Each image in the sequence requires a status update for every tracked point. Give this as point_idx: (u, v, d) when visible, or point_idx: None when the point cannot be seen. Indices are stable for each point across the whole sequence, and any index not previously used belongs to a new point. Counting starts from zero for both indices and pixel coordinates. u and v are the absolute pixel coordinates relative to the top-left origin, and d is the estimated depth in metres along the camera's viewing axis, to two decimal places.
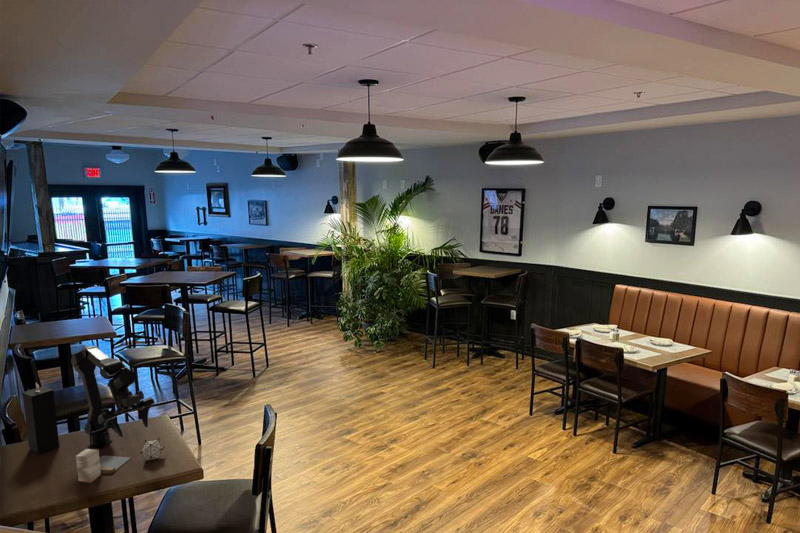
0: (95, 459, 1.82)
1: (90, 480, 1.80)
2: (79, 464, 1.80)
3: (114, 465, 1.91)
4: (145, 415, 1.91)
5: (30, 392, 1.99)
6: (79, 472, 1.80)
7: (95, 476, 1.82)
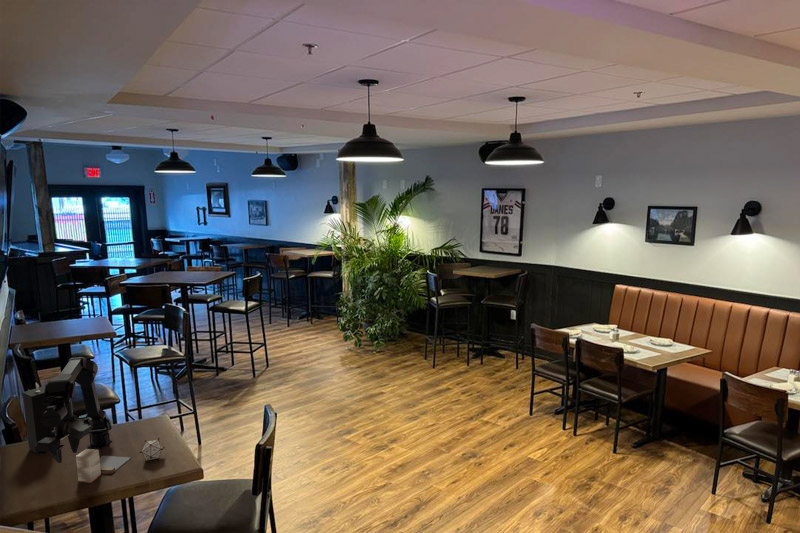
0: (95, 459, 1.82)
1: (90, 480, 1.80)
2: (79, 464, 1.80)
3: (114, 465, 1.91)
4: (77, 440, 1.75)
5: (30, 392, 1.99)
6: (79, 472, 1.80)
7: (95, 476, 1.82)
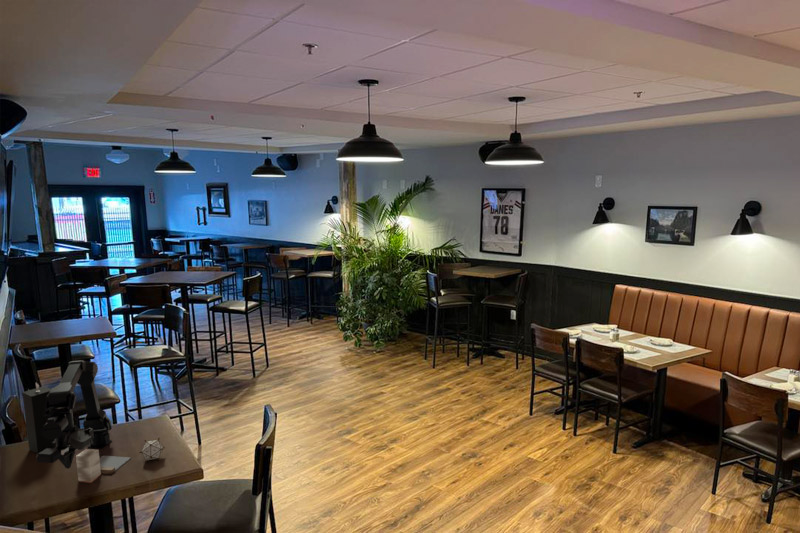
0: (95, 459, 1.82)
1: (90, 480, 1.80)
2: (79, 464, 1.80)
3: (114, 465, 1.91)
4: (71, 455, 1.73)
5: (30, 392, 1.99)
6: (79, 472, 1.80)
7: (95, 476, 1.82)
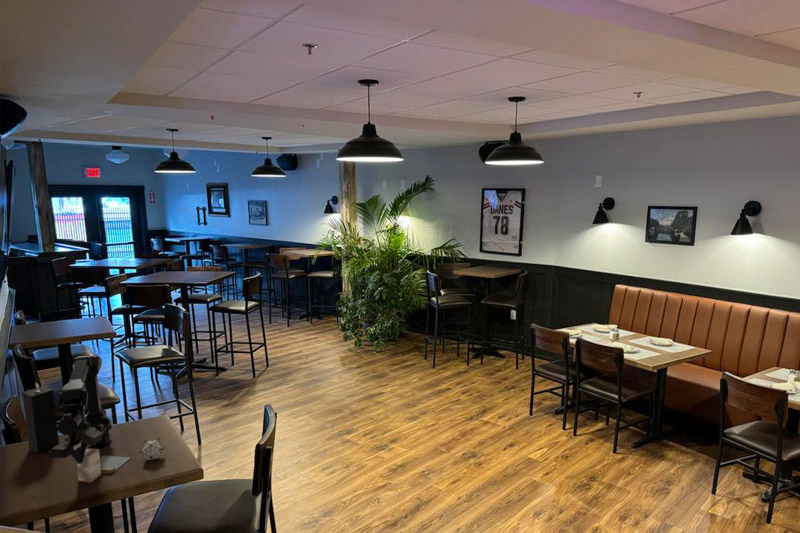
0: (95, 459, 1.83)
1: (90, 480, 1.80)
2: None
3: (114, 465, 1.91)
4: (83, 451, 1.78)
5: (30, 392, 1.99)
6: (79, 472, 1.80)
7: (95, 476, 1.82)
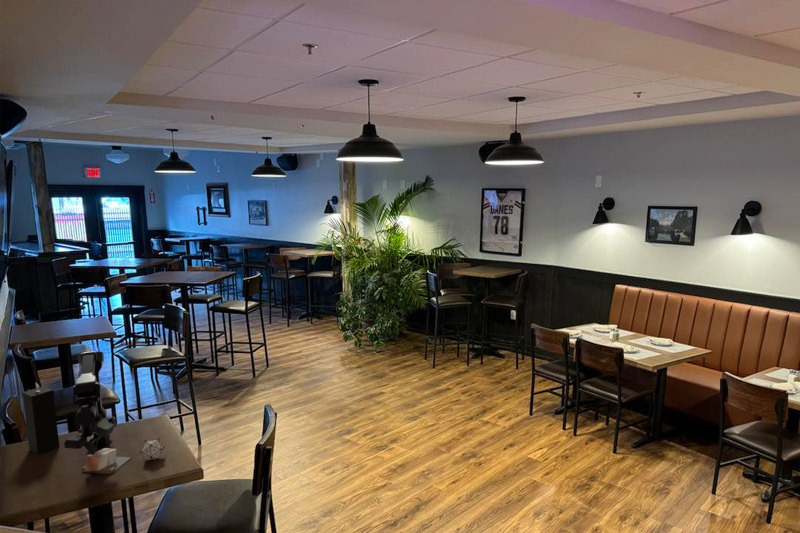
0: (111, 459, 1.91)
1: (99, 456, 1.84)
2: (101, 450, 1.91)
3: (114, 465, 1.91)
4: (96, 442, 1.84)
5: (30, 392, 1.99)
6: None
7: (99, 462, 1.85)
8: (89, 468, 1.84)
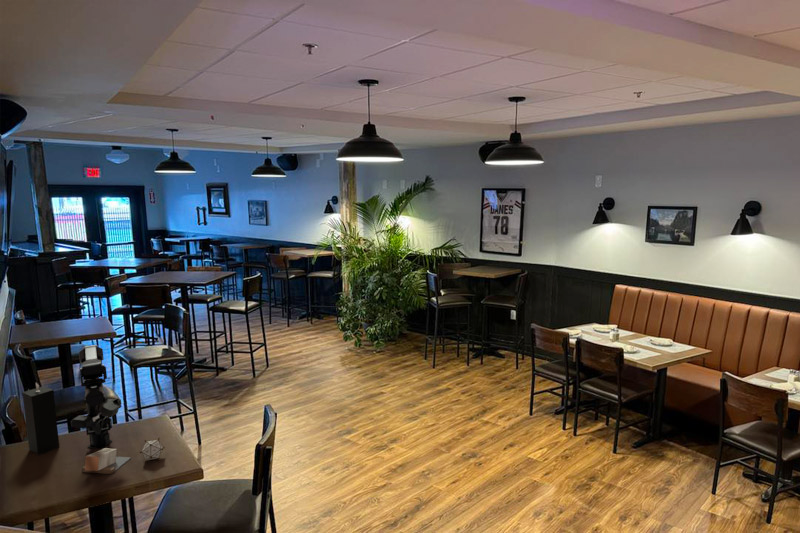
0: (111, 459, 1.91)
1: (99, 456, 1.84)
2: (101, 450, 1.91)
3: (114, 465, 1.91)
4: (101, 422, 1.90)
5: (30, 392, 1.99)
6: (94, 453, 1.88)
7: (99, 462, 1.85)
8: (89, 468, 1.84)
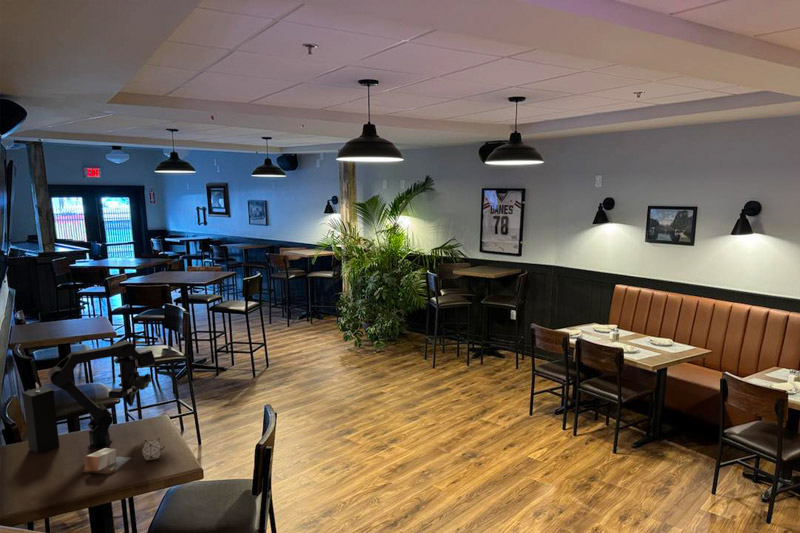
0: (111, 459, 1.91)
1: (99, 456, 1.84)
2: (101, 450, 1.91)
3: (114, 465, 1.91)
4: (133, 395, 2.14)
5: (30, 392, 1.99)
6: (94, 453, 1.88)
7: (99, 462, 1.85)
8: (89, 468, 1.84)
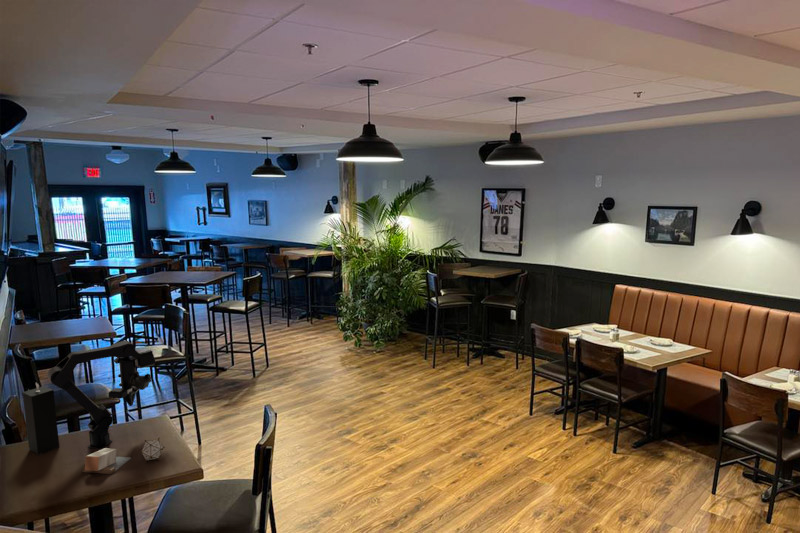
0: (111, 459, 1.91)
1: (99, 456, 1.84)
2: (101, 450, 1.91)
3: (114, 465, 1.91)
4: (133, 395, 2.14)
5: (30, 392, 1.99)
6: (94, 453, 1.88)
7: (99, 462, 1.85)
8: (89, 468, 1.84)
